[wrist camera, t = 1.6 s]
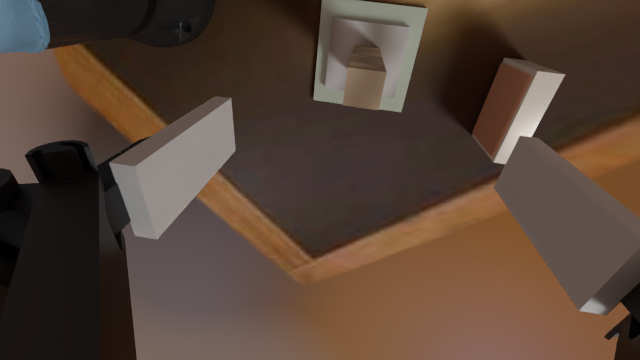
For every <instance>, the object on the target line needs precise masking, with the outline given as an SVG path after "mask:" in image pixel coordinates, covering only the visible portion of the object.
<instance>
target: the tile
mask: <svg viewBox="0 0 640 360" xmlns="http://www.w3.org/2000/svg"><path fill="white" fill-rule="evenodd" d="M564 76H565V74H562V73H560V72H557V71H554V70H551V69H548V68H546V67H543V66H540V65H537V64H535V63H532V62H529V61H526V60H519V59H511V58H504V59H503V62H501V64H500V67H499V69H498V71H497V74H496V76H495V79H494V81H493V84H492V86H491V88H490V91H489V93H488V96H487V98H486V100H485V103H484V105H483V108H482V110H481V112H480V115H479V117H478V120H477V122H476V125H475V127H474V129H473V132H472V133H473V134H472V136H473V137H474V139H475V140H476V141H477V142H478V144H479V145H480V146H481V147H482V149H483V150H484V151H485V152H486V154H487V155H488V156H489V158H490V159H491V160H492V161H493V162H494V163H501V164H506V163H507V161H508V159H509V157H510V155H511V153H512V151H513V149H514V147H515V145H516V143H517V141H518V139H519V137H520V136H526V137H532V135H533V133H534V131H535V130H536V128H537V126H538V124H539V122H540V120H541V118H542V117H543V115H544V113H545V111H546V109H547V107H548V105H549V104H550V102H551V100H552V98H553V96H554V94H555V93H556V91H557V89H558V87H559V85H560V83H561V81H562V80H563V78H564Z"/></svg>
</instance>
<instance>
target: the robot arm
mask: <svg viewBox="0 0 640 360" xmlns="http://www.w3.org/2000/svg"><path fill="white" fill-rule="evenodd" d="M214 4H215V0H0V53H9V52H28V53H39V52H42V51H44V50H45V49H51V48H57V47H63V46H70V45H76V44H83V43H90V42H96V41H103V40H110V39H117V38H123V37H125V38H128V39H131V40H134V41H137V42H140V43H144V44H147V45H150V46H155V47H173V46H178V45H182V44H186V43H188V42H190V41H192V40H194V39H195V38H197V37H198V36H199V35H200V34H201V33H202V32H203V31H204V30H205V28H206V27H207V25H208V23H209V21H210V19H211V16H212V13H213V9H214ZM234 152H235V139H234V127H233V115H232V102H231V98H226V97H218V96H215V97H213V98H212V99H210V100H209V101H207V102H205V103H204V104H202V105H201V106H199V107H197V108H196V109H194V110H192V111H191V112H189V113H188V114H186V115H184V116H183V117H181V118H180V119H178V120H176V121H175V122H173V123H172V124H170V125H168V126H167V127H165V128H164V129H162V130H160V131H159V132H157V133H156V134H154V135H152V136H150V137H147V138H144V139H141V140H139V141H137V142H136V143H134V144H132V145H131V146H130V147H129V148H128V147H127V148H126V149H124V150H122V151H121V153H118V154H116V155H114V156H113V157H111V158H109V159H108V160H106V161H104V162H103V163H101V164H99V165H98V166H96V164H95V161H94V158H93V156H92V153H91V150H90V148H89V146H88V144H87V143H85V142H82V141H74V140H70V141H58V142H53V143H48V144H45V145H42V146H38V147H36V148H34V149H32V150H30V151H29V152H28V153H27V154H26V155H25V157H26V159H27V161H28V163H29V165H30V166H31V168H32V170H33V172H34V174H35V176H36V178H37V180H38V181H39V183H31V184H18V182H17V181H16V179H15V177H14V176H13V174H12V173H11V171H10V170H6V169H0V360H137V359H136V348H135V338H134V328H133V318H132V309H131V298H130V288H129V278H128V269H127V258H126V248H125V238H124V236H123V233H122V229H123V228H124V227H125V226H126V225H127V224H128V223H129V222H130V223H131V226H132V228H133V231H134V234H135V236H140V237H146V238H152V239H158V238H159V237H160V236H161V235H162V233H163V232H164V231H165V230H166V229H167V228H168V227H169V225H170V224H171V223H172V222H173V221H174V220H175V218H176V217H177V216H178V215H179V214H180V213H181V212H182V211H183V209H184V208H185V207H186V206H187V205H188V204H189V203H190V202H191V200H192V199H193V198H194V197H195V196H196V195H197V194H198V193H199V191H200V190H201V189H202V188H203V187H204V186H205V185H206V183H207V182H208V181H209V180H210V179H211V178H212V177H213V176H214V174H215V173H216V172H217V171H218V170H219V169H220V168H221V166H222V165H223V164H224V163H225V162H226V161H227V160H228V159H229V157H230V156H231V155H232V154H233V153H234ZM494 188H495V190H496V191H497V193H498V194H499V196H500V197H501V198H502V200H503V201H504V203H505V204H506V206H507V207H508V209H509V210H510V212H511V213H512V214H513V216H514V217H515V219H516V220H517V222H518V223H519V225H520V226H521V227H522V229H523V230H524V232H525V233H526V235H527V236H528V238H529V239H530V241H531V242H532V243H533V245H534V246H535V248H536V249H537V251H538V252H539V253H540V255H541V256H542V258H543V259H544V261H545V262H546V264H547V265H548V267H549V268H550V269H551V271H552V272H553V274H554V275H555V277H556V278H557V280H558V281H559V282H560V284H561V285H562V287H563V288H564V290H565V291H566V293H567V294H568V296H569V297H570V298H571V300H572V301H573V303H574V304H575V306H576V307H577V308H578V310H579V311H584V312H590V313H596V314H602V315H607V314H608V313H609V312H610V311H611V310H613V309H614V308H615V306H617V305H618V304H619V303H620V302H622V304H623V305H624V306H625V307H626V308H627V310H628V311H629V312H630V314H629V315H627V316H626V317H625V318H624V319H623V320H622V321H621V322H620V323H619V324H617V325H616V326H615V327H614V328H613V329H612V330H610V331H609V332H608V333H607V334H606V336H605V338H607V339H608V340H609V339H611V338H612V337H618V341H617V344H616V345H617V347H616V352H615V358H614V360H640V218H639V217H637V216H636V215H635V214H634V213H632V212H631V211H630V210H629V209H627V208H626V207H625V206H624V205H622V204H621V203H620V202H618V201H617V200H616V199H615V198H613V197H612V196H611V195H610V194H608V193H607V192H606V191H605V190H603V189H602V188H601V187H599V186H598V185H597V184H596V183H594V182H593V181H592V180H591V179H589V178H588V177H587V176H586V175H584V174H583V173H582V172H580V171H579V170H578V169H577V168H575V167H574V166H573V165H572V164H570V163H569V162H568V161H567V160H565V159H564V158H563V157H561V156H560V155H559V154H558V153H556V152H555V151H554V150H553V149H551V148H550V147H549V146H548V145H546V144H545V143H544V142H542V141H541V140H540V139H539V138H533V137H526V136H520V137H519V139H518V141H517V143H516V145H515V147H514V149H513V151H512V153H511V155H510V157H509V159H508V161H507V163H506V165H505V167H504V169H503V171H502V173H501V175H500V177H499V179H498V181H497V183H496V185H495V187H494Z"/></svg>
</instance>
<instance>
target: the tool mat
mask: <svg viewBox="0 0 640 360" xmlns="http://www.w3.org/2000/svg"><path fill="white" fill-rule="evenodd" d="M427 11H428V8H419V7H411V6H402V5H394V4H385V3H376V2H368V1H359V0H322V5H321V17H320V29H319V40H318V52H317V63H316V75H315V86H314V98H313V100H318V101H325V102H332V103H339V104H343V99H344V92H345V91H340V90H332V89H325V82H326V72H327V63H328V53H329V44H330V34H331V25H332V18H339V19H348V20H356V21H364V22H372V23H381V24H389V25H397V26H405V27H411V30H410V34H409V38H408V42H407V46H406V51H405V55H404V59H403V63H402V67H401V72H400V76H399V80H398V84H397V88H396V92H395V97H394V98H391V97H383V96H382V97H381V101H380V106H379V109H382V110H389V111H396V112H401V111H402V107H403V104H404V100H405V96H406V92H407V88H408V84H409V80H410V77H411V73H412V69H413V65H414V61H415V57H416V53H417V50H418V46H419V42H420V38H421V34H422V30H423V26H424V23H425V19H426V15H427Z"/></svg>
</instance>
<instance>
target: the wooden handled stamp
mask: <svg viewBox="0 0 640 360" xmlns="http://www.w3.org/2000/svg"><path fill="white" fill-rule="evenodd" d="M410 30H411V27H405V26H397V25H389V24H381V23H372V22H364V21H356V20H348V19H339V18H332V25H331V34H330V44H329V53H328V63H327V72H326V82H325V89H332V90H340V91H345V92H344V99H343V105H345V106H352V107H359V108H366V109H373V110H379V106H380V101H381V97H382V96H383V97H391V98H394V97H395V92H396V88H397V84H398V80H399V76H400V72H401V67H402V63H403V59H404V55H405V51H406V46H407V42H408V38H409V34H410Z"/></svg>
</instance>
